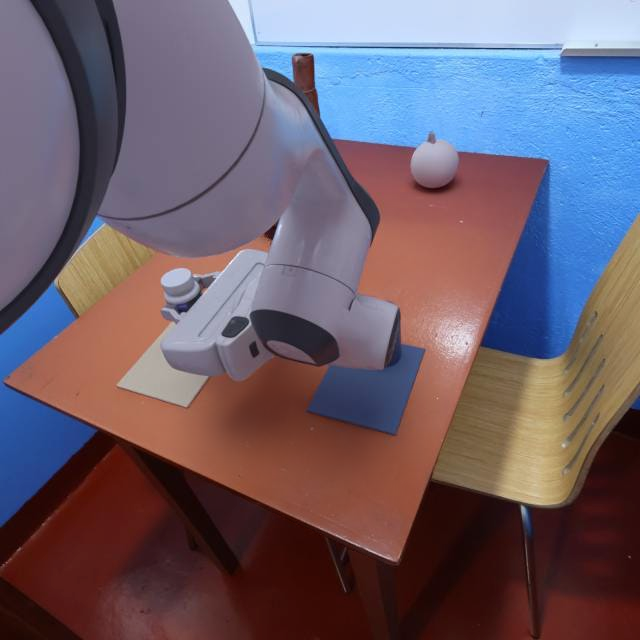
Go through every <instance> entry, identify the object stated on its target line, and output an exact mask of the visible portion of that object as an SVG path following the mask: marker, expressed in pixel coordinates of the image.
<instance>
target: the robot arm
mask: <svg viewBox="0 0 640 640" xmlns="http://www.w3.org/2000/svg"><path fill="white" fill-rule="evenodd" d="M239 19H240V18H238V16H237V14H236V12H235V10H234V8H233V6H232V4H231V3H230V1H229V0H0V336H1V335H3V334H4V333H5V332H6V331H8V330H9V329H10V328H11V327H12V326H13V325H14V324H16V322H18V320H20V318H22V317H23V316H24V315H25V314H26V313H27V312H28V311H29V310H30V309H31V308H32V307H33V306H34V305H35V304H36V303H37V302H38V300H39V299H41V297H42V296H43V295H44V294H45V293H46V292H47V290H48V289H49V288H50V287H51V286H52V284H53V283H54V282H55V281H56V279H58V276H60V274H61V273H62V271H63V270H64V268H65V267H66V266H67V265H68V263H69V262H70V261H71V259H72V258H73V256H74V255H75V253H76V252H77V250H78V249H79V247H80V245H81V244H82V243H83V240H84V239H85V238H86V236H87V235H88V232H89V231H90V229H91V228H92V225H93V223H94V221H95V219H96V218H97V219H98V220H99V221H101V222H103V224H105V225H107V226H109V228H111V229H113V230H114V231H116V232H118V233H119V234H121V235H123V236H124V237H126V238H128V239H129V240H131V241H133V242H135V243H136V244H139V245H141V246H143V247H146V248H148V249H150V250H152V251H154V252H157V253H160V254H163V255H166V256H170V257H175V258H182V259H183V258H184V259H199V258H200V259H201V258H209V257H214V256H219V255H224V254H227V253H230V252H233V251H236V250H238V249H240V248H242V247H244V246H246V245H248V244H250V243H252V242H253V241H256V240H257V239H259V238H260V237H262V236H263V235H264V234H265V232H266V231H268V230H269V229H270V228H271V227H272V226H273V225H274V224H275V223H276V222H277V221H278V220H279V219H280V220H279V223H278V226H277V229H276V232H275V235H274V238H273V239H272V241H271V245H270V247H269V250H268V252H267V251H263V250H258V249H255V248H246V249H242V250H240V251H238V253H237V254H236V255H235V256H234V257H233V258H232V260H231V261H230V262H229V263H228V264H227V265H226V266H225V268H224V269H223V270H222V271H214V272H211V273H206V274H196V273H194V274H192V276H193V278H194V281H196V282H197V283H198V284H199V286H200V288H201V291H202V293H203V294H202V296H201V297H200V298H199V299H198V300H197V301H196V303H195V304H194V305H193V306H192V307H191V308H190V309H189V311H188V312H187V313H185V312H182V313H181V312H180V311H179V308H178V306H177V304H170V303H167V302H166V304H165V305H164V306H163V307H162V308H161V309H160V314H161V316H162V318H163V319H164V320H165V321H167V322H172V321H173V322H175V324H176V326H175V327H174V328H173V329H172V330H171V331H170V333H169V334H168V335H167V336H166V337H165V338H164V339H163V340H162V342H161V344H160V347H161V350H162V353H163V355H164V357H165V359H166V361H167V362H168V364H169V365H170V366H171V367H172V368H174V369H176V370H179V371H183V372H187V373H191V374H196V375H202V376H210V377H218V376H219V377H220V376H222V375H225V374H227V376H228V377H229V378H230V379H231V380H233V381H236V382H244V381H245V380H247V379H248V378H249V377H250V376H252V374H254V373H255V372H256V371H257V370H258V369H259V368H260V367H262V366H264V364H266V363H267V362H269V361H270V360H271V359H273V358H274V357H278V358H281V359H284V360H287V361H290V362H295V363H299V364H304V365H309V366H311V367H317V368H321V367H324V366H329V365H332V366H338V367H344V368H351V369H362V370H383V369H384V368H385V367H386V366H387V365H388V364H389V362H390V360H391V358H392V354H393V351H394V347H395V343H396V339H397V335H398V330H399V327H400V322H402V321H401V320H402V314H401V313H402V312H401V308H400V306H399V305H398V304H396V303H395V304H393V303H394V302H393V303H391V302H392V301H390V302H388V301H389V300H386V299H382V298H378V297H375V296H371V295H368V294H364V293H360V292H358V291H359V287H360V285H361V284H360V283H361V280H362V277H363V272H364V269H365V265H366V262H367V258H368V255H369V251H370V248H371V247H372V244H373V242H374V239H375V237H376V233H377V231H378V229H379V226H380V222H381V213H380V210H379V208H378V206H377V204H376V202H375V201H374V199H373V197H372V195H371V194H370V193H369V192H368V190H366V189H365V187H364V186H363V185H362V184H360V183H359V182H358V181H357V180H356V179H355V178H354V176H353V175H352V173H351V171H350V170H349V168H348V166H347V165H346V163H345V161H344V158H343V157H342V155H341V153H340V151H339V149H338V148H337V145H336V144H335V141H334V140H333V138H332V136H331V134H330V132H329V131H328V129H327V126H326V125H325V123H324V122H323V120H322V118H321V115H320V116H319V115H318V113H317V111H316V110H315V108H314V106H313V105H312V103H311V102H310V100H309V99H308V98H307V96H306V95H305V94H304V93H303V91H302V90H301V89H300V88H299V87H298V86H297V85H296V84H295V83H294V81H292V80H291V79H290V78H289V77H287V76H286V75H284V74H282V73H281V72H279V71H277V70H273V69H271V68H267V67H262V65H261V62H260V60H259V58H258V56H257V54H256V52H255V50H254V48H253V46H252V43H251V42H250V39H249V38H248V35H247V33H246V31H245V28H244V26H243V25H242V23H241V21H240V20H239ZM205 289H206V290H205ZM204 290H205V291H204ZM203 291H204V292H203Z"/></svg>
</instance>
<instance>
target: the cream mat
mask: <svg viewBox="0 0 640 640" xmlns="http://www.w3.org/2000/svg"><path fill="white" fill-rule="evenodd" d="M175 326H176V324H175V322H173V321H170V323H169V324H168V325H167V326H166V328H165V329H164V330H163V331H162V333H161V334H159V336H158V337H157V338H156V339H155V340H154V341H153V343H151V345H149V347H148V348H147V349H146V351H144V353H143V354H142V355H141V356H140V357H139V358H138V359H137V361H136V362H135V363H134V364H133V365H132V366H131V367H130V369H129V370H128V371H127V372H126V373H125V375H123V376H122V378H121V379H120V380H119V381H118V382H117V383H116V385H115V386H116V388H118V389H122V390H126V391H128V392H132V393H135V394H139V395H142V396H145V397H148V398H151V399H155V400H158V401H161V402H164V403H168V404H172V405H174V406H177V407H180V408H184V409H189V407H190V406H191V405H192V403H193V402H194V400H195V399H196V397H198V395H199V393H200V392H201V391H202V389H203V388H204V386H205V385H206V384H207V383H208V381H209V379H210V378H211V376H202V375H196V374H191V373H187V372H183V371H179V370H176V369H174V368H172V367H171V366H170V365H169V364H168V362H167V361H166V359H165V357H164V355H163V353H162V350H161V347H160V344H161V342H162V340H163V339H164V338H165V337H166V336H167V335H168V334H169V333H170V331H171V330H172V329H173V328H174V327H175Z"/></svg>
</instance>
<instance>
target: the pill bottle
mask: <svg viewBox="0 0 640 640" xmlns="http://www.w3.org/2000/svg"><path fill="white" fill-rule="evenodd" d="M160 285H161V288H162V289H163V298H164V300H165V303H166V304H167V303H170V304H177V306H178V308H179V311H180V312H181V313H182V312H185V313H187V312H188V311H189V309H190V308H191V307H192V306H193V305H194V304H195V303H196V301H197V300H198V299H199V298H200V297H201V296H202V294H203V293H204V292H203V291H201V288H200V286H199V284H198V283H197V282H196V281H194V278H193V273H192V272H191V270H190V269H188V268H185V267H179V268H178V267H177V268H173V269H170V270H169V271H167V272H165V273H164V275H162V276H161V279H160Z"/></svg>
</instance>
